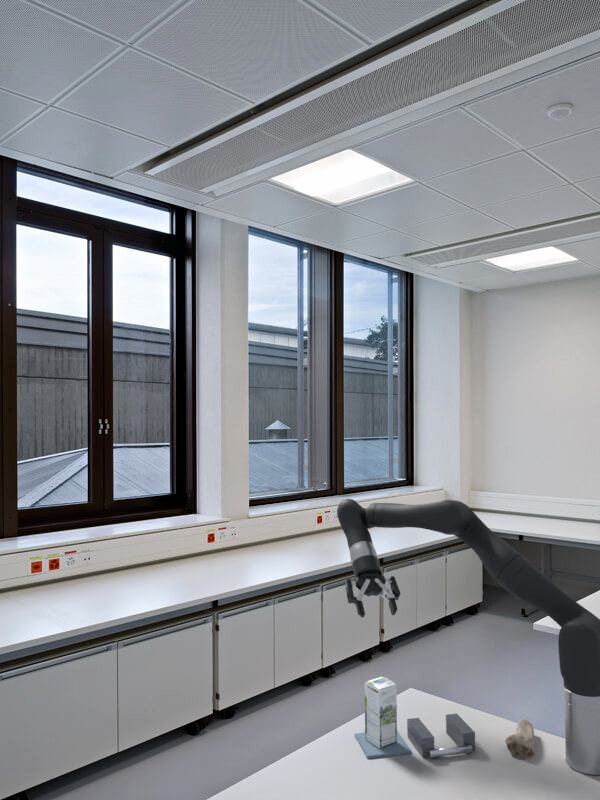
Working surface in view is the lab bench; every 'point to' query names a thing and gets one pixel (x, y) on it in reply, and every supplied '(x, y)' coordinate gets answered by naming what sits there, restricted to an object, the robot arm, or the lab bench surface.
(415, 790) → the lab bench surface
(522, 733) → the bone fragment
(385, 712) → the syrup box
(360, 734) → the mat
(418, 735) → the vise
